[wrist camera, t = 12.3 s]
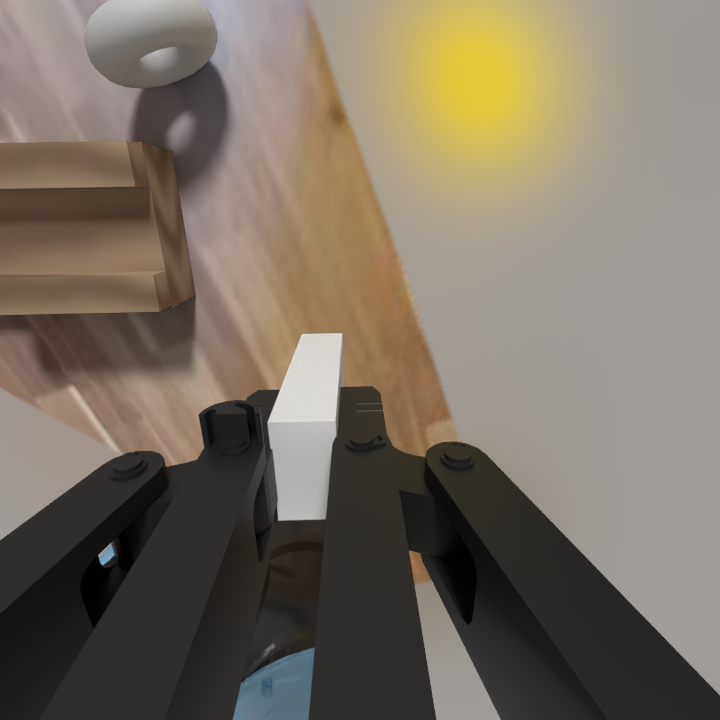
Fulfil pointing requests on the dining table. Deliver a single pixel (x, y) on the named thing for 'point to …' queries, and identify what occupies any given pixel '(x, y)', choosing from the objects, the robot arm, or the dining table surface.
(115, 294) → the slot board
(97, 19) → the donut
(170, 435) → the dining table surface
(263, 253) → the dining table surface
